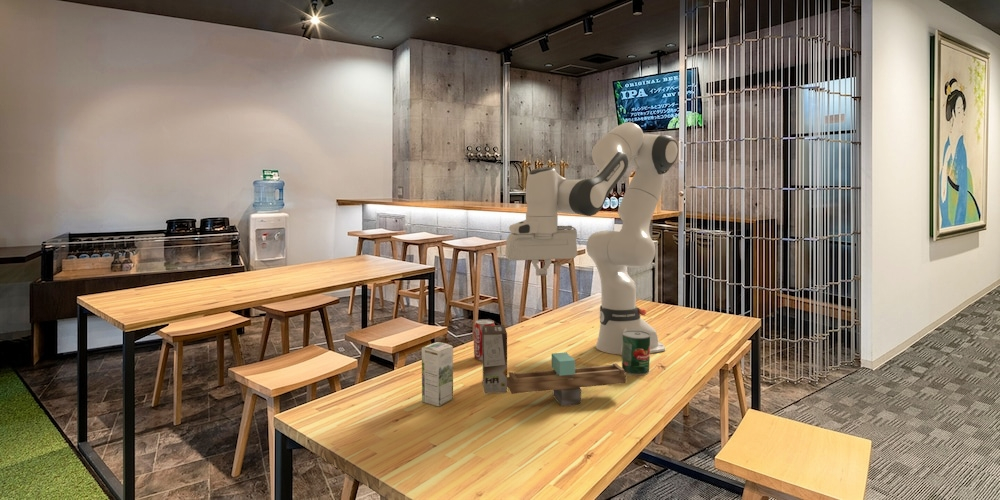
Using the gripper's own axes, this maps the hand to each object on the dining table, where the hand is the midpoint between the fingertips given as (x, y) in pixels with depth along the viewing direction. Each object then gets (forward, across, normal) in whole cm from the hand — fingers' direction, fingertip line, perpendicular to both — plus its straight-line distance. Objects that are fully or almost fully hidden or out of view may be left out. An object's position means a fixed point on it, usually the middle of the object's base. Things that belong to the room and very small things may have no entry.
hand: (541, 275), depth 151 cm
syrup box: (+29, +31, +12) cm, 44 cm away
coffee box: (+29, +15, +6) cm, 34 cm away
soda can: (+29, +13, -18) cm, 37 cm away
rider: (+23, 0, +19) cm, 29 cm away
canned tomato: (+29, -28, +3) cm, 41 cm away
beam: (+29, -1, +19) cm, 35 cm away
